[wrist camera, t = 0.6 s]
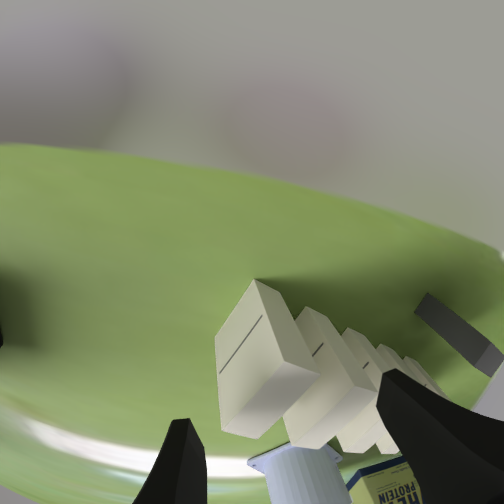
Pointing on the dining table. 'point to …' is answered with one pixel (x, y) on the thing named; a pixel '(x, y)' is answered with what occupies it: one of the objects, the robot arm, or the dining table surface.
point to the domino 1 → (260, 363)
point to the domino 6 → (460, 335)
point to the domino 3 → (368, 420)
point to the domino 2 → (327, 385)
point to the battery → (0, 341)
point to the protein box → (385, 484)
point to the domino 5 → (424, 377)
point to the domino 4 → (394, 361)
